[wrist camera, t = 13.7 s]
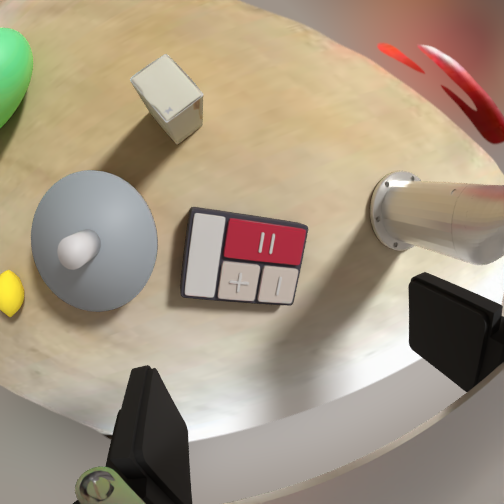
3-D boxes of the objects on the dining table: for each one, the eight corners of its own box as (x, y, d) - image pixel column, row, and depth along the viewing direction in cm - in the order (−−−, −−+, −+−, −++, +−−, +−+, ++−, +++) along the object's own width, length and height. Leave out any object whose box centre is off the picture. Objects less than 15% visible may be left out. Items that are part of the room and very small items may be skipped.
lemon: (5, 265, 34) (-14, 269, 28) (30, 270, 35) (12, 275, 29) (5, 308, 34) (-12, 317, 29) (30, 315, 35) (14, 325, 30)
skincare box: (203, 125, 35) (207, 97, 23) (176, 146, 35) (168, 126, 23) (174, 90, 33) (166, 50, 22) (147, 110, 33) (127, 78, 22)
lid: (135, 150, 29) (123, 142, 23) (176, 288, 33) (173, 308, 27) (20, 199, 27) (-6, 202, 21) (62, 321, 31) (44, 342, 25)
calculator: (295, 308, 39) (180, 299, 35) (284, 297, 43) (179, 288, 39) (311, 226, 37) (191, 208, 33) (298, 222, 41) (190, 206, 37)
